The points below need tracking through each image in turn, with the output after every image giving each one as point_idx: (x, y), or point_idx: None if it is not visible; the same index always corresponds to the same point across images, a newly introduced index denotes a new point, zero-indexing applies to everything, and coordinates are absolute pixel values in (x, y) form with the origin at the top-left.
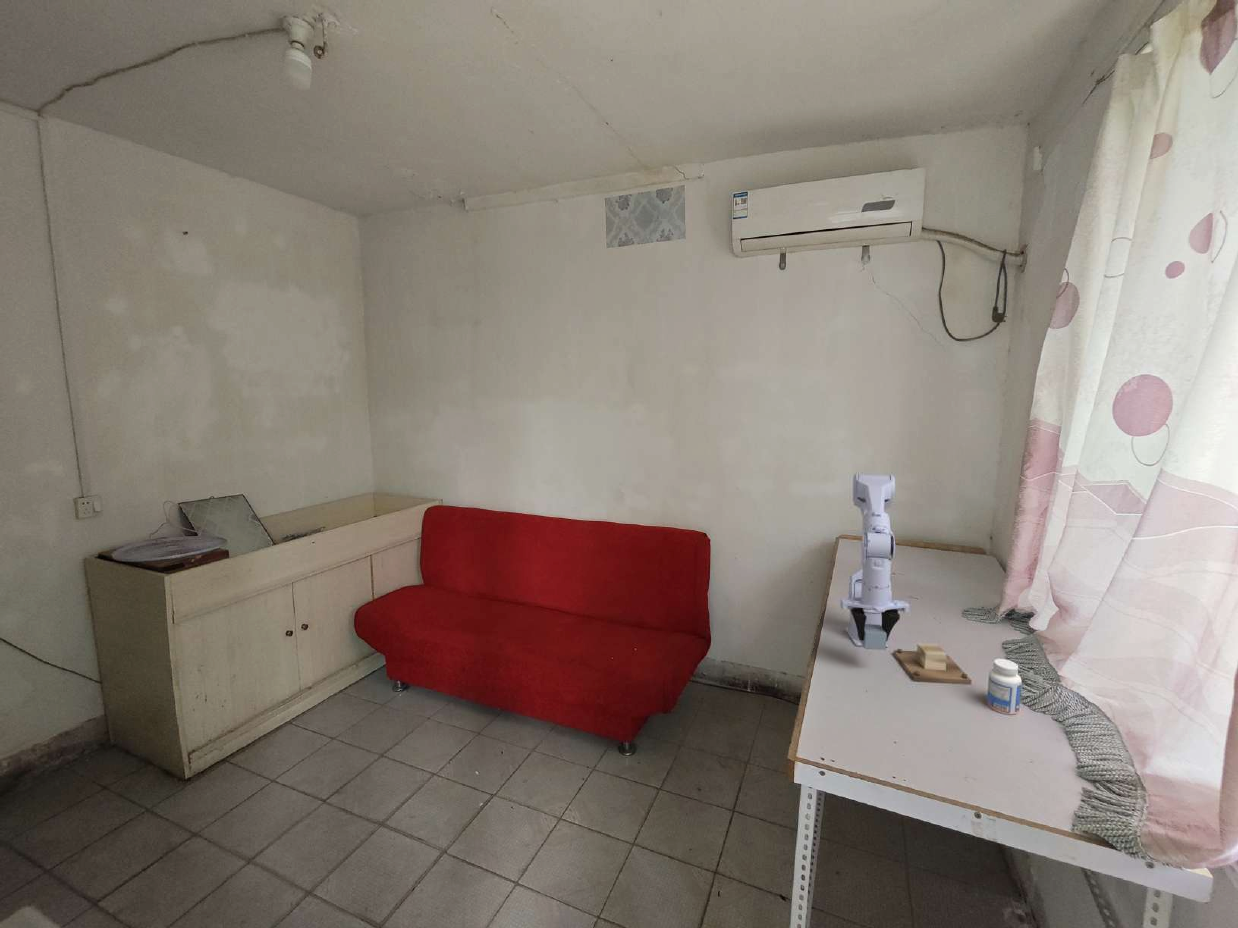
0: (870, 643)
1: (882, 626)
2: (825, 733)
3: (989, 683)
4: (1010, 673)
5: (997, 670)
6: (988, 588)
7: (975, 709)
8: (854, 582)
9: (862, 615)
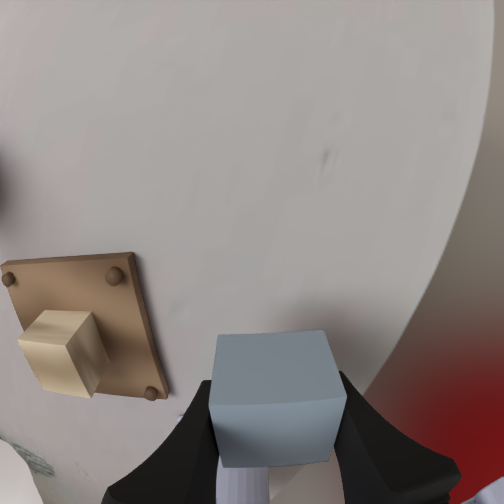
0: (302, 352)
1: (215, 457)
2: None
3: None
4: None
5: None
6: (41, 492)
7: (18, 130)
8: None
9: (420, 491)
